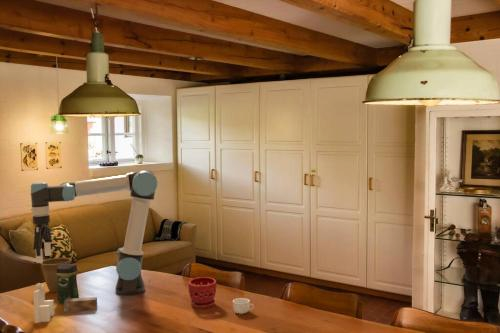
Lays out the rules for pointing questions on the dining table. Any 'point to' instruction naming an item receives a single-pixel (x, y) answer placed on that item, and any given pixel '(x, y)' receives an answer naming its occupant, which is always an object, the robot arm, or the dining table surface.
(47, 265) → the plant pot
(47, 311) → the cream u-shaped bracket
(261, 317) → the dining table surface
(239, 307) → the teacup
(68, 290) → the coffee jar
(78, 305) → the rail
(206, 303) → the plant pot
